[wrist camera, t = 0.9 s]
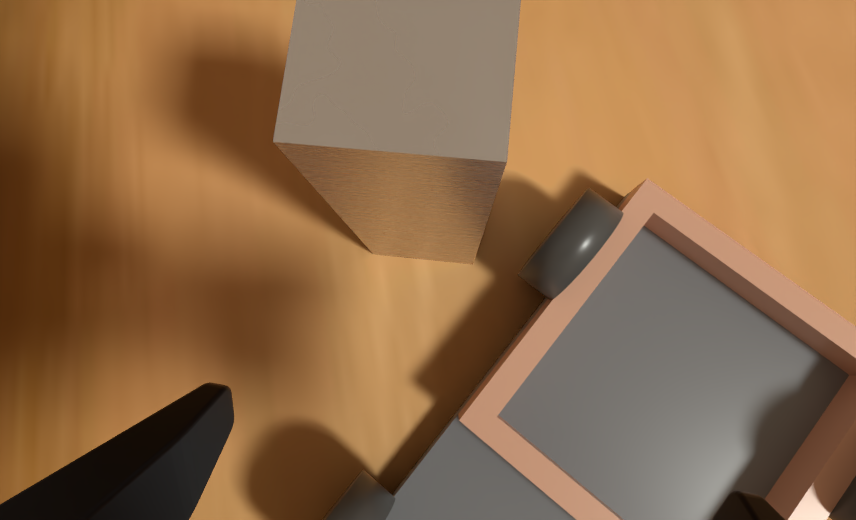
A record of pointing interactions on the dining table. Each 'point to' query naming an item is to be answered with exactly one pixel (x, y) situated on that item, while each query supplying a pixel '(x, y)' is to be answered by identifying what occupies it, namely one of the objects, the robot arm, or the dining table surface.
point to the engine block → (402, 117)
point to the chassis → (645, 386)
